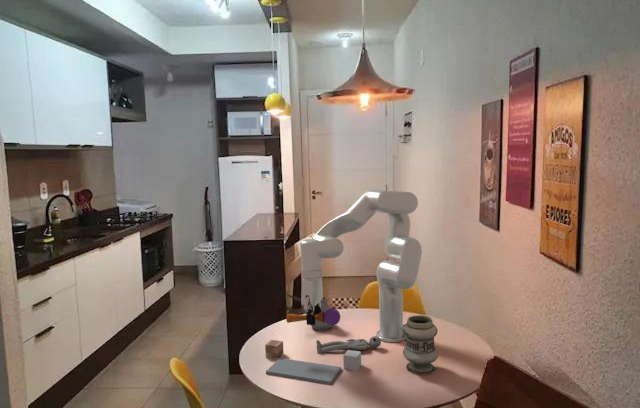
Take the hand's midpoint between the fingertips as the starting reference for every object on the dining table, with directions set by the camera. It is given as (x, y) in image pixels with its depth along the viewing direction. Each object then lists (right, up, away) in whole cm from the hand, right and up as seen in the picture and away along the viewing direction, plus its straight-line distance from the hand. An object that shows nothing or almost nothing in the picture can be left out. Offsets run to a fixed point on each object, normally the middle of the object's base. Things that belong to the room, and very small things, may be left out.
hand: (314, 321), depth 171 cm
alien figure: (+13, -14, +10) cm, 22 cm away
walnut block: (-15, -15, +6) cm, 22 cm away
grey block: (+14, -15, -5) cm, 21 cm away
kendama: (0, -1, 0) cm, 1 cm away
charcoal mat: (-4, -16, -8) cm, 18 cm away
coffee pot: (-2, -11, +34) cm, 36 cm away
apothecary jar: (+37, -15, -8) cm, 41 cm away
